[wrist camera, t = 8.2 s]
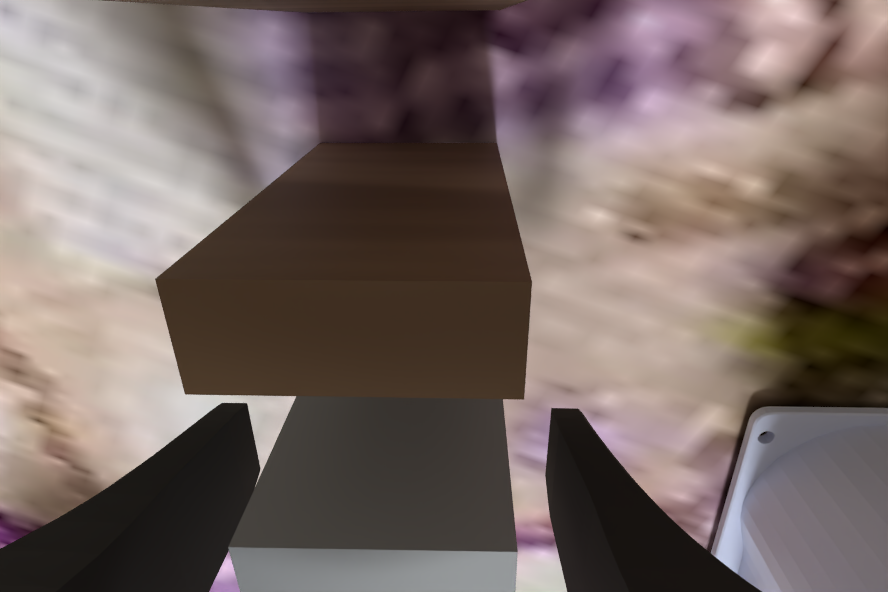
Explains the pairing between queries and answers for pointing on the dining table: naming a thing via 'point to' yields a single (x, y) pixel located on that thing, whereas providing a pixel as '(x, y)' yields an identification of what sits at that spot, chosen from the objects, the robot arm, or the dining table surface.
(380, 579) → the domino
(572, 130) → the dining table surface
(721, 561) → the robot arm
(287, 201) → the domino
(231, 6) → the domino
